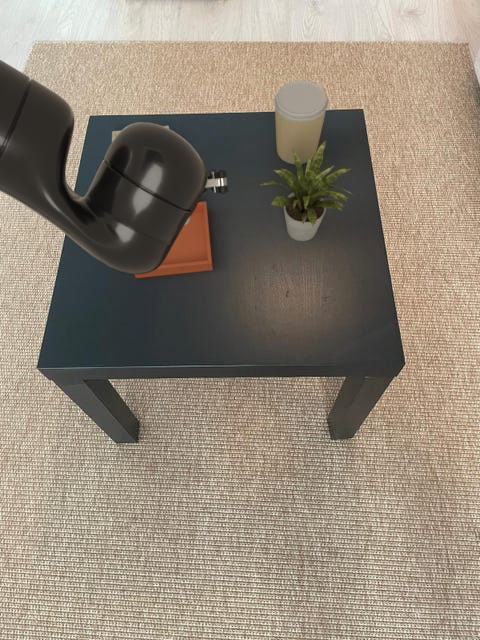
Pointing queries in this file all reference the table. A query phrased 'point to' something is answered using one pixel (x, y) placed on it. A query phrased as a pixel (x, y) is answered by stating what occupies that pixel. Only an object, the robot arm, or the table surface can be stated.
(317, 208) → the house plant
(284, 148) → the coffee cup
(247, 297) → the table surface
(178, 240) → the terracotta tray
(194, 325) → the table surface
